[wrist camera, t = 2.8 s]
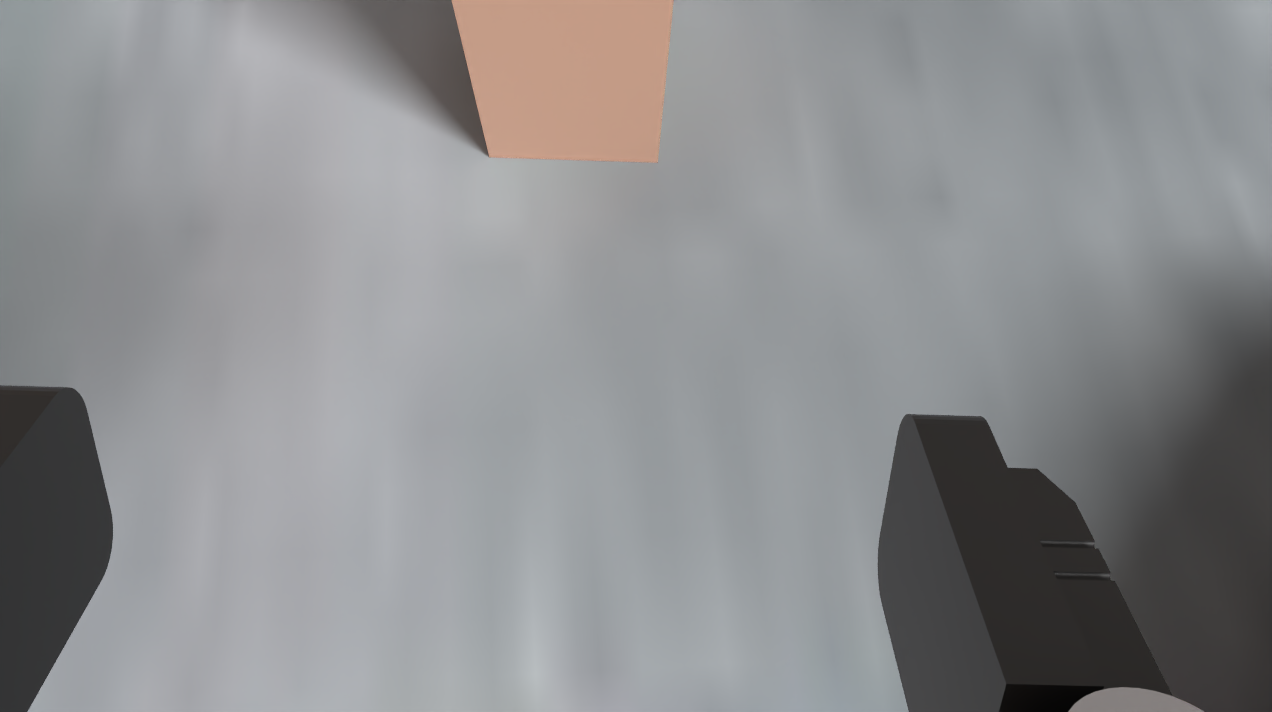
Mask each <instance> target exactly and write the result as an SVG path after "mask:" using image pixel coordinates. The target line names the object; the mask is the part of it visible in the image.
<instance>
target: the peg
mask: <svg viewBox="0 0 1272 712" xmlns="http://www.w3.org/2000/svg"><path fill="white" fill-rule="evenodd" d="M673 1H674V0H452V4H453V8H454V12H455V16H456V20H457V24H458V29H459V33H460V37H461V41H462V45H463V49H464V54H465V58H466V62H467V66H468V70H469V74H470V78H471V83H472V87H473V91H474V95H475V99H476V103H477V108H478V112H479V116H480V120H481V124H482V128H483V133H484V137H485V141H486V145H487V149H488V153H489V157H498V158H529V159H560V160H591V161H623V162H654V163H658V153H659V143H660V133H661V123H662V113H663V103H664V92H665V82H666V72H667V62H668V52H669V42H670V31H671V21H672V11H673Z"/></svg>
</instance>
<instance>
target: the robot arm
mask: <svg viewBox="0 0 1272 712" xmlns="http://www.w3.org/2000/svg"><path fill="white" fill-rule="evenodd" d="M112 540H113V522H112V514H111V509H110V505H109V501H108V496H107V492H106V488H105V484H104V480H103V475H102V471H101V467H100V463H99V459H98V455H97V450H96V446H95V442H94V438H93V434H92V429H91V425H90V421H89V417H88V413H87V409H86V406H85V403H84V401H83V398H82V397H81V395H80V394H79V393H78V392H77V391H76V390H75V389H73V388H68V387H34V386H0V712H27V711H28V709H29V708H30V706H31V704H32V702H33V701H34V699H35V697H36V695H37V694H38V692H39V690H40V688H41V686H42V685H43V683H44V681H45V679H46V678H47V676H48V674H49V672H50V671H51V669H52V667H53V665H54V663H55V662H56V660H57V658H58V656H59V655H60V653H61V651H62V649H63V648H64V646H65V644H66V642H67V641H68V639H69V637H70V635H71V633H72V632H73V630H74V628H75V626H76V625H77V623H78V621H79V619H80V618H81V616H82V614H83V612H84V610H85V609H86V607H87V605H88V603H89V602H90V600H91V598H92V596H93V595H94V593H95V591H96V589H97V587H98V586H99V584H100V582H101V580H102V578H103V576H104V574H105V572H106V569H107V566H108V563H109V559H110V554H111V549H112ZM1094 542H1095V541H1094V539H1093V537H1092V535H1091V533H1090V531H1089V529H1088V527H1087V525H1086V523H1085V521H1084V519H1083V517H1082V515H1081V513H1080V511H1079V509H1078V507H1077V505H1076V503H1075V502H1074V501H1073V500H1072V499H1071V498H1069V497H1068V496H1067V495H1066V494H1065V493H1064V492H1063V491H1062V490H1060V489H1059V488H1058V487H1057V486H1056V485H1055V484H1054V483H1053V482H1051V481H1050V480H1049V479H1048V478H1047V477H1046V476H1045V475H1044V474H1042V473H1041V472H1040V471H1039V470H1038V469H1026V468H1007V465H1006V463H1005V461H1004V459H1003V456H1002V454H1001V452H1000V450H999V447H998V445H997V443H996V440H995V438H994V436H993V434H992V431H991V429H990V427H989V425H988V423H987V421H986V420H985V419H984V418H983V417H981V416H949V415H915V414H907V415H905V416H904V418H903V419H902V422H901V424H900V427H899V431H898V436H897V441H896V447H895V452H894V458H893V464H892V470H891V475H890V481H889V487H888V492H887V498H886V504H885V509H884V515H883V521H882V526H881V532H880V538H879V548H878V580H879V591H880V597H881V602H882V606H883V610H884V614H885V618H886V622H887V626H888V630H889V634H890V638H891V642H892V646H893V650H894V654H895V658H896V662H897V666H898V670H899V674H900V678H901V682H902V686H903V690H904V694H905V698H906V702H907V706H908V710H909V712H1204V711H1203V710H1201V709H1199V708H1197V707H1195V706H1193V705H1191V704H1189V703H1188V702H1185V701H1183V700H1180V699H1178V698H1175V697H1173V696H1172V694H1171V692H1170V690H1169V688H1168V686H1167V684H1166V682H1165V680H1164V678H1163V676H1162V674H1161V672H1160V670H1159V668H1158V666H1157V664H1156V662H1155V660H1154V658H1153V656H1152V654H1151V652H1150V650H1149V649H1148V647H1147V645H1146V643H1145V641H1144V639H1143V637H1142V635H1141V633H1140V631H1139V629H1138V627H1137V625H1136V623H1135V621H1134V619H1133V617H1132V615H1131V613H1130V611H1129V609H1128V607H1127V605H1126V603H1125V601H1124V599H1123V597H1122V595H1121V593H1120V591H1119V589H1118V587H1117V585H1116V583H1115V581H1111V580H1110V571H1109V569H1108V567H1107V565H1106V563H1105V561H1104V559H1103V557H1102V555H1101V553H1100V551H1099V549H1095V548H1094Z"/></svg>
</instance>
